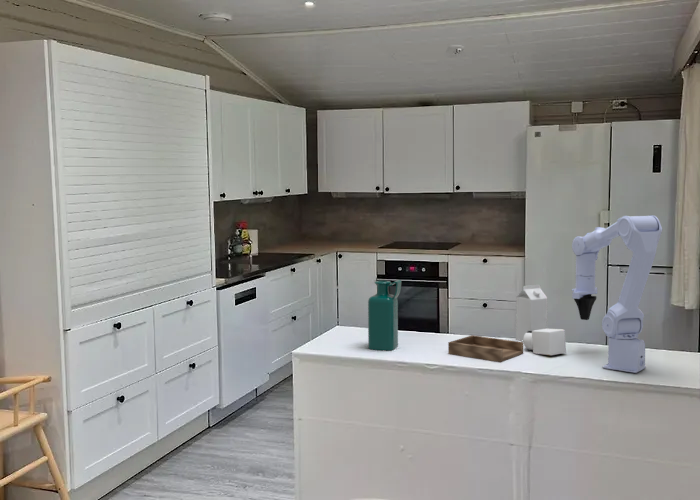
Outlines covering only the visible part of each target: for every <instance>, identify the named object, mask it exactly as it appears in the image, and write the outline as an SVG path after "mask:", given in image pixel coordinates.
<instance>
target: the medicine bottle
mask: <svg viewBox="0 0 700 500" xmlns="http://www.w3.org/2000/svg"><path fill="white" fill-rule="evenodd" d="M522 342H523V347H524V348H525V349H526V350H529V351H532V353H533V354H535V355H544V356H555V355H560V354H561V355H562V354H566V353H567V346H566V345H567V343H566V330H565V329H562V328H547V329H541V330H534V331H528V332H526V333H525V335H524V338H523V341H522Z"/></svg>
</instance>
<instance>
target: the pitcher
mask: <svg viewBox="0 0 700 500" xmlns="http://www.w3.org/2000/svg"><path fill="white" fill-rule="evenodd" d="M374 284H375V285H376V294H373V295H371V296H370V297H369V298H368V300H367V327H368V330H367V333H368V335H367V336H368V337H367V341H368V342H367V343H368V345H367V347H368V349H369V350H373V351H383V350H386V352H387V351H389V352H390V350H391V351H393V350H395V349H396V348H398V346H399V326H398V325H399V317H398V316H399V315H398V314H399V313H398V311H399V309H398V308H399V302H398V297H399V295H400V293H401V289H402V280H400V279H397V280H395V281H393V282H391V281H390V280H376V281H374ZM393 285H395V293H394V294H390V291H389V287H391V286H393Z"/></svg>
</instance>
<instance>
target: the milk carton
mask: <svg viewBox="0 0 700 500" xmlns="http://www.w3.org/2000/svg"><path fill="white" fill-rule="evenodd" d="M522 288H523V289H522V291H520V293H518V294H517V296H516V302H515V303H516V305H515V307H516V308H515V311H516V312H515V315H516V316H515V321H516V322H515V324H516V325H515V341H516V340H517V341H518V342H522V341H521V340H523V338H524V335H525V333H526V332H528V331H534V330H541V329H548V297H547V295H546V294H545V293H544V291H543V290H542V288H541V284H534V285H533V284H532V285H523V287H522Z"/></svg>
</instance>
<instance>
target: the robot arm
mask: <svg viewBox="0 0 700 500" xmlns="http://www.w3.org/2000/svg"><path fill="white" fill-rule="evenodd" d="M662 232H663V227H662V224H661V221H660V219H659V218H658V217H657V216H656V215H655V214H654V215H653V214H651V215H650V214H649V215H633V216H631V215H630V216H629V215H622V216H620V217H619V218H617V220H616V222H614V223H612V224H611V225H609V226H608V227H606V228H605V227H602V226H597V227H594V230H593V231H591V232H587V233H586V234H585V235H583V236H580V235H579V236H578V235H577V236H575V237H574V238H573V240H572V243H571V248H572V252H573V254H574V255H575V288H572V289H571V291H572V297H571V298H572V299H573V300H574V302H575V304H576V306H577V308H578V309H577V310H578V314H579V318H580V320H583V321H588V320H589V319H590V317H591V313H592V308H593V307H594V304H595V302H596V300H597V296H596V295H597V294H598V290H599V289H598V287H597V286H596V262H597V261H598V258H599V257H598V255H599V253H600V250H602V249H604V248H606V247H608V246H610V245H611V243H612V242H613V240H614V239H616V238H618V237H620V238H621V239H622V242H623V243H624V244H625V246H626V249H628V250H630V251H631V252H632V255H631V260H630V263H629V266H628V269H627V273H626V275H625V278H624V281H623V283H622V284H623V285H622V288H621V291H620V293H619V298H618V301H617V302H616V303H615V304H613V305H611V306H610V307H609V308H608V309H607V312H606V314H605V315H604V316H603V317H602V319H601V320H602V322H601V328H602V331H603V333H605V336H606V337H608V340H607V341H608V346H607V347H608V352H607V353H608V356H607V364H604V365H602V368H603V369H607V370H614V371H620V372H627V373H634V374H637V373H639V372H641V371H643V370H644V369H646V368H647V367H646V343H645V341H644V339H640V338H639V335H640V334H641V332H642V331H643V327H644V322H643V321H644V318H645V314H644V312H643V311H642V310H641V308H639V306H640V303H641V300H642V297H643V295H644V290H645V288H646V285H647V281H648V279H649V276H650V273H651V270H652V267H653V263H654V261H655V257H656V255H657V250H658V249H657V248H658V245H659V241H660V239H661V236H662Z"/></svg>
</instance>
